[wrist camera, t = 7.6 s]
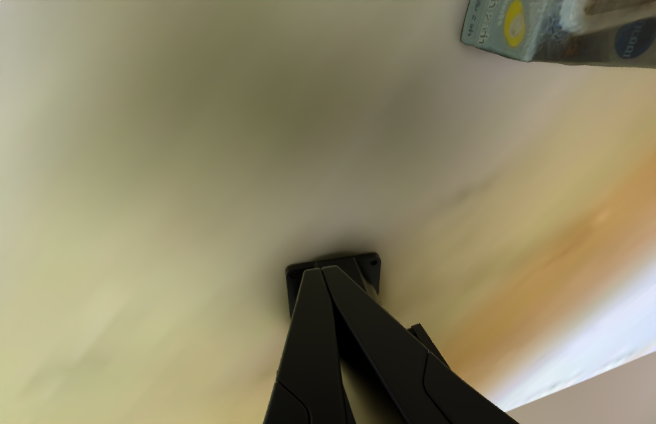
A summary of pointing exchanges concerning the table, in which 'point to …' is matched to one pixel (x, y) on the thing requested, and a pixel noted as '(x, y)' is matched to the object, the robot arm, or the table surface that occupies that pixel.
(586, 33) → the printed cardboard box
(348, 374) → the robot arm
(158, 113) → the table surface
